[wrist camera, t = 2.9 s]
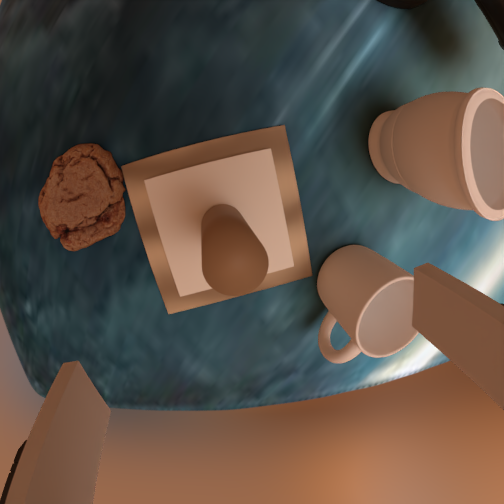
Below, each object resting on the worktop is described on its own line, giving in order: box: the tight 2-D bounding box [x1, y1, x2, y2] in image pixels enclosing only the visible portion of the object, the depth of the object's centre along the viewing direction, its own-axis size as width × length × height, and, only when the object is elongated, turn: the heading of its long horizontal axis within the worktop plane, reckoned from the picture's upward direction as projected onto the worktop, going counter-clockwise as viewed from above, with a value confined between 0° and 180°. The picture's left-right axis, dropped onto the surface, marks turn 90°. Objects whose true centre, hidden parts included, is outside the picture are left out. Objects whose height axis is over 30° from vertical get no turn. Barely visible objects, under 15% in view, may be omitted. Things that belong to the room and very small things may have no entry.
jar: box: [368, 88, 504, 221], centre depth 23 cm, size 11×10×15 cm
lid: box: [144, 148, 294, 297], centre depth 23 cm, size 12×12×12 cm
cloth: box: [121, 125, 312, 314], centre depth 29 cm, size 16×16×1 cm
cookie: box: [38, 143, 125, 251], centre depth 25 cm, size 10×11×3 cm
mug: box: [317, 245, 419, 363], centre depth 29 cm, size 12×8×10 cm
